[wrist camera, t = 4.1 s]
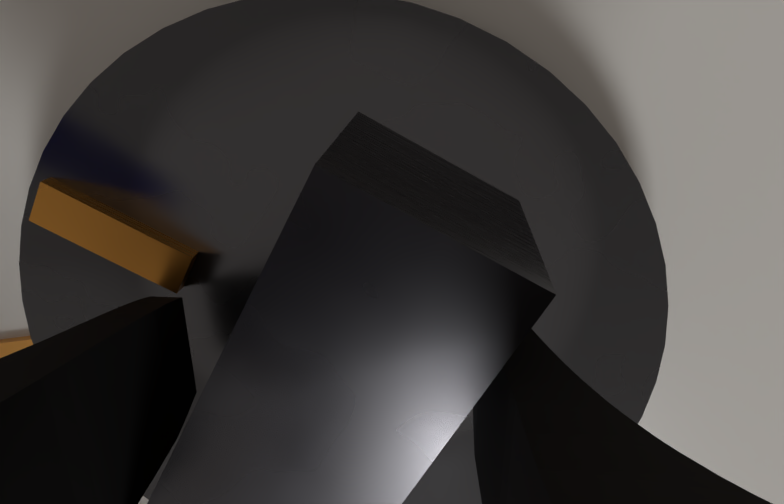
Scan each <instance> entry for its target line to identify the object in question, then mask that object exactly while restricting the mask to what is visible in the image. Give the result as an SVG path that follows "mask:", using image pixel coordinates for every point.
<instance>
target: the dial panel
mask: <svg viewBox="0 0 784 504" xmlns="http://www.w3.org/2000/svg"><path fill="white" fill-rule="evenodd" d="M235 1H239V0H0V358H2V357H4V356H7V355H9V354H12V353H14V352H16V351H19V350H21V349H24V348H26V347H29V346H31V345H33V342H32V339H31V337H30V333H29V328H28V324H27V319H26V315H25V311H24V306H23V302H22V292H21V281H20V270H19V255H20V237H21V224H22V219H23V215H24V210H25V205H26V200H27V196H28V191H29V187H30V184H31V182H32V179H33V176H34V174H35V171H36V169H37V166H38V163H39V161H40V158H41V155H42V153H43V150H44V149H45V147H46V145H47V143H48V142H49V140H50V138H51V137H52V135H53V133H54V131H55V130H56V128H57V126H58V124H59V123H60V121H61V119H62V117H63V116H64V114H65V113H66V112H67V111H68V110H69V108H70V107H71V106H72V105H73V103H74V102H75V101H76V100H77V98H78V97H79V96H80V95H81V94H82V92H83V91H84V90H85V89H86V87H87V86H88V85H89V84H90V83H91V82H92V81H93V80H94V79H95V78H96V77H97V76H98V75H100V74H101V73H102V72H103V71H104V70H105V69H106V68H107V67H109V66H110V65H111V64H112V63H113V62H114V61H115V60H116V59H118V58H119V57H120V56H121V55H122V54H123V53H125V52H126V51H128V50H129V49H131V48H132V47H134V46H136V45H137V44H139V43H140V42H142V41H143V40H145V39H147V38H148V37H150V36H151V35H153V34H154V33H156V32H158V31H159V30H161V29H162V28H164V27H167V26H169V25H171V24H174V23H176V22H178V21H180V20H183V19H185V18H187V17H190V16H192V15H194V14H197V13H199V12H201V11H203V10H206V9H209V8H213V7H217V6H220V5H224V4H228V3H232V2H235ZM401 1H407V2H412V3H415V4H418V5H421V6H425V7H428V8H431V9H434V10H437V11H440V12H443V13H446V14H449V15H452V16H455V17H458V18H460V19H462V20H464V21H466V22H468V23H470V24H472V25H474V26H476V27H478V28H480V29H482V30H484V31H486V32H488V33H490V34H492V35H494V36H496V37H498V38H500V39H502V40H504V41H506V42H508V43H509V44H511V45H512V46H514V47H515V48H516V49H518V50H519V51H521V52H522V53H524V54H525V55H527V56H528V57H530V58H531V59H532V60H534V61H535V62H537V63H538V64H540V65H541V66H543V67H544V68H545V69H547V70H548V71H550V72H551V73H552V74H553V75H554V76H555V77H556V78H557V79H558V80H559V81H561V82H562V83H563V84H564V85H565V86H566V87H567V88H568V89H569V90H570V91H571V92H572V93H574V94H575V95H576V96H577V97H578V98H579V99H580V100H581V101H582V102H583V103H584V104H585V105H586V106H587V107H588V108H589V109H590V111H591V112H592V113H593V114H594V116H595V117H596V118H597V119H598V121H599V122H600V123H601V124H602V126H603V127H604V128H605V129H606V130H607V132H608V133H609V134H610V135H611V137H612V138H613V139H614V140H615V142H616V143H617V145H618V146H619V148H620V150H621V151H622V153H623V155H624V157H625V158H626V160H627V162H628V163H629V165H630V167H631V169H632V170H633V172H634V174H635V175H636V177H637V179H638V181H639V182H640V185H641V187H642V190H643V192H644V195H645V197H646V200H647V202H648V205H649V207H650V210H651V212H652V215H653V217H654V220H655V222H656V225H657V230H658V234H659V239H660V243H661V247H662V252H663V256H664V260H665V265H666V278H667V292H668V318H667V329H666V341H665V348H664V352H663V356H662V360H661V364H660V369H659V373H658V377H657V381H656V384H655V386H654V389H653V391H652V394H651V396H650V399H649V401H648V404H647V406H646V408H645V411H644V413H643V416H642V418H641V419H640V421H639V423H638V425H640V426H641V427H643V428H644V429H645V430H647V431H648V432H650V433H651V434H652V435H654V436H655V437H657V438H658V439H660V440H661V441H663V442H664V443H666V444H668V445H669V446H671V447H672V448H674V449H675V450H677V451H678V452H680V453H682V454H684V455H685V456H687V457H689V458H690V459H692V460H694V461H695V462H697V463H699V464H700V465H702V466H704V467H705V468H707V469H709V470H710V471H712V472H714V473H716V474H717V475H719V476H721V477H723V478H724V479H726V480H728V481H730V482H732V483H734V484H736V485H737V486H739V487H741V488H743V489H745V490H747V491H749V492H751V493H752V494H754V495H756V496H758V497H760V498H762V499H764V500H766V501H768V502H770V503H773V504H784V0H401ZM148 501H149V500H148V499H147V498H146V497H144V496H142V498H141V500H140V501H139V503H138V504H147V503H148Z"/></svg>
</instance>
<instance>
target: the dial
mask: <svg viewBox="0 0 784 504" xmlns="http://www.w3.org/2000/svg"><path fill="white" fill-rule="evenodd" d="M19 270H20V281H21V292H22V302H23V306H24V311H25V315H26V319H27V324H28V328H29V333H30V337H31V339H32V342H33V344H36V343H38V342H41V341H43V340H45V339H48V338H50V337H52V336H54V335H57V334H59V333H61V332H63V331H66V330H68V329H70V328H72V327H75V326H77V325H79V324H81V323H84V322H86V321H88V320H90V319H93V318H95V317H97V316H99V315H102V314H104V313H106V312H109V311H111V310H113V309H116V308H118V307H120V306H123V305H125V304H128V303H131V302H133V301H136V300H139V299H142V298H146V297H149V296H156V297H182V299H183V306H184V312H185V319H186V325H187V332H188V338H189V345H190V351H191V358H192V364H193V371H194V377H195V384H196V390H197V393H196V395H195V398H194V400H193V403H192V405H191V408H190V410H189V413H188V415H187V418H186V420H185V422H184V424H183V427H182V429H181V431H180V433H179V436H178V438H177V440H176V442H175V443H174V445H173V447H172V448H171V450H170V452H169V454H168V455H167V457H166V459H165V460H164V462H163V464H162V465H161V467H160V469H159V470H158V472H157V474H156V475H155V477H154V479H153V480H152V482H151V483H150V485H149V487H148V488H147V490H146V492H145V493H144V495H143V496H144V497H146V498H147V499H148V500H149V501H148V503H147V504H482V501H481V494H480V488H479V481H478V475H477V469H476V462H475V455H474V432H473V407H474V406H475V404H476V403H477V401H478V400H479V399H480V397H481V396H482V395H483V393H484V392H485V391H486V389H487V388H488V387H489V385H490V384H491V383H492V381H493V380H494V378H495V377H496V376H497V374H498V373H499V372H500V370H501V369H502V368H503V366H504V365H505V364H506V362H507V361H508V360H509V358H510V357H511V356H512V354H513V353H514V351H515V350H516V349H517V347H518V346H519V345H520V343H521V342H522V341H523V339H524V338H525V337H526V335H527V334H528V333H529V331H530V330H531V328H532V330H533V331H534V332H535V333H536V334H537V335H538V336H539V337H540V338H541V339H542V341H543V342H544V343H545V344H546V345H547V346H548V347H549V348H550V349H551V350H552V351H553V352H554V353H555V354H556V355H557V356H558V357H559V358H560V359H561V360H562V361H563V362H564V363H565V364H566V365H567V366H568V367H569V368H570V369H571V370H572V371H573V372H574V373H575V374H576V375H578V376H579V377H580V378H581V379H582V380H583V381H584V382H585V383H587V384H588V385H589V386H590V387H591V388H592V389H594V390H595V391H596V392H597V393H598V394H599V395H600V396H602V397H603V398H604V399H605V400H606V401H608V402H609V403H610V404H611V405H613V406H614V407H615V408H617V409H618V410H619V411H620V412H622V413H623V414H624V415H626V416H627V417H629V418H630V419H631V420H633V421H634V422H636V423H637V424H638V423H639V421H640V419H641V418H642V416H643V413H644V411H645V408H646V406H647V404H648V401H649V399H650V396H651V394H652V391H653V389H654V386H655V384H656V381H657V377H658V373H659V369H660V364H661V360H662V356H663V352H664V348H665V341H666V329H667V318H668V292H667V278H666V265H665V260H664V256H663V252H662V247H661V243H660V239H659V234H658V230H657V225H656V222H655V220H654V217H653V215H652V212H651V210H650V207H649V205H648V202H647V200H646V197H645V195H644V192H643V190H642V187H641V185H640V182H639V181H638V179H637V177H636V175H635V174H634V172H633V170H632V169H631V167H630V165H629V163H628V162H627V160H626V158H625V157H624V155H623V153H622V151H621V150H620V148H619V146H618V145H617V143H616V142H615V140H614V139H613V138H612V137H611V135H610V134H609V133H608V132H607V130H606V129H605V128H604V127H603V126H602V124H601V123H600V122H599V121H598V119H597V118H596V117H595V116H594V114H593V113H592V112H591V111H590V109H589V108H588V107H587V106H586V105H585V104H584V103H583V102H582V101H581V100H580V99H579V98H578V97H577V96H576V95H575V94H574V93H572V92H571V91H570V90H569V89H568V88H567V87H566V86H565V85H564V84H563V83H562V82H561V81H559V80H558V79H557V78H556V77H555V76H554V75H553V74H552V73H551V72H550V71H548V70H547V69H545V68H544V67H543V66H541V65H540V64H538V63H537V62H535V61H534V60H532V59H531V58H530V57H528V56H527V55H525V54H524V53H522V52H521V51H519V50H518V49H516V48H515V47H514V46H512V45H511V44H509V43H508V42H506V41H504V40H502V39H500V38H498V37H496V36H494V35H492V34H490V33H488V32H486V31H484V30H482V29H480V28H478V27H476V26H474V25H472V24H470V23H468V22H466V21H464V20H462V19H460V18H458V17H455V16H452V15H449V14H446V13H443V12H440V11H437V10H434V9H431V8H428V7H425V6H421V5H418V4H415V3H412V2H407V1H401V0H239V1H235V2H232V3H228V4H224V5H220V6H217V7H213V8H209V9H206V10H203V11H201V12H199V13H197V14H194V15H192V16H190V17H187V18H185V19H183V20H180V21H178V22H176V23H174V24H171V25H169V26H167V27H164V28H162V29H161V30H159V31H158V32H156V33H154V34H153V35H151V36H150V37H148V38H147V39H145V40H143V41H142V42H140V43H139V44H137V45H136V46H134V47H132V48H131V49H129V50H128V51H126V52H125V53H123V54H122V55H121V56H120V57H119V58H118V59H116V60H115V61H114V62H113V63H112V64H111V65H110V66H109V67H107V68H106V69H105V70H104V71H103V72H102V73H101V74H100V75H98V76H97V77H96V78H95V79H94V80H93V81H92V82H91V83H90V84H89V85H88V86H87V87H86V89H85V90H84V91H83V92H82V94H81V95H80V96H79V97H78V98H77V100H76V101H75V102H74V103H73V105H72V106H71V107H70V108H69V110H68V111H67V112H66V113H65V114H64V116H63V117H62V119H61V121H60V123H59V124H58V126H57V128H56V130H55V131H54V133H53V135H52V137H51V138H50V140H49V142H48V143H47V145H46V147H45V149H44V150H43V153H42V155H41V158H40V161H39V163H38V166H37V169H36V171H35V174H34V176H33V179H32V182H31V184H30V187H29V191H28V196H27V200H26V205H25V210H24V215H23V219H22V224H21V237H20V255H19Z"/></svg>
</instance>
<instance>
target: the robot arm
mask: <svg viewBox="0 0 784 504" xmlns="http://www.w3.org/2000/svg"><path fill="white" fill-rule="evenodd" d="M196 393H197V390H196V384H195V377H194V371H193V364H192V358H191V351H190V345H189V338H188V332H187V325H186V319H185V312H184V306H183V299H182V297H156V296H149V297H146V298H142V299H139V300H136V301H133V302H131V303H128V304H125V305H123V306H120V307H118V308H116V309H113V310H111V311H109V312H106V313H104V314H102V315H99V316H97V317H95V318H93V319H90V320H88V321H86V322H84V323H81V324H79V325H77V326H75V327H72V328H70V329H68V330H66V331H63V332H61V333H59V334H57V335H54V336H52V337H50V338H48V339H45V340H43V341H41V342H38V343H36V344H33V345H31V346H29V347H26V348H24V349H21V350H19V351H16V352H14V353H12V354H9V355H7V356H4V357H2V358H0V504H138V503H139V501H140V500H141V498H142V496H143V495H144V493H145V492H146V490H147V488H148V487H149V485H150V483H151V482H152V480H153V479H154V477H155V475H156V474H157V472H158V470H159V469H160V467H161V465H162V464H163V462H164V460H165V459H166V457H167V455H168V454H169V452H170V450H171V448H172V447H173V445H174V443H175V442H176V440H177V438H178V436H179V433H180V431H181V429H182V427H183V424H184V422H185V420H186V418H187V415H188V413H189V410H190V408H191V405H192V403H193V400H194V398H195V395H196ZM473 432H474V455H475V462H476V469H477V475H478V481H479V488H480V494H481V501H482V504H773V503H770V502H768V501H766V500H764V499H762V498H760V497H758V496H756V495H754V494H752V493H751V492H749V491H747V490H745V489H743V488H741V487H739V486H737V485H736V484H734V483H732V482H730V481H728V480H726V479H724V478H723V477H721V476H719V475H717V474H716V473H714V472H712V471H710V470H709V469H707V468H705V467H704V466H702V465H700V464H699V463H697V462H695V461H694V460H692V459H690V458H689V457H687V456H685V455H684V454H682V453H680V452H678V451H677V450H675V449H674V448H672V447H671V446H669V445H668V444H666V443H664V442H663V441H661V440H660V439H658V438H657V437H655V436H654V435H652V434H651V433H650V432H648V431H647V430H645V429H644V428H643V427H641V426H640V425H638V424H637V423H636V422H634V421H633V420H631V419H630V418H629V417H627V416H626V415H624V414H623V413H622V412H620V411H619V410H618V409H617V408H615V407H614V406H613V405H611V404H610V403H609V402H608V401H606V400H605V399H604V398H603V397H602V396H600V395H599V394H598V393H597V392H596V391H595V390H594V389H592V388H591V387H590V386H589V385H588V384H587V383H585V382H584V381H583V380H582V379H581V378H580V377H579V376H578V375H576V374H575V373H574V372H573V371H572V370H571V369H570V368H569V367H568V366H567V365H566V364H565V363H564V362H563V361H562V360H561V359H560V358H559V357H558V356H557V355H556V354H555V353H554V352H553V351H552V350H551V349H550V348H549V347H548V346H547V345H546V344H545V343H544V342H543V341H542V339H541V338H540V337H539V336H538V335H537V334H536V333H535V332H534V331H533V330H532V328H531V330H530V331H529V333H528V334H527V335H526V337H525V338H524V339H523V341H522V342H521V343H520V345H519V346H518V347H517V349H516V350H515V351H514V353H513V354H512V356H511V357H510V358H509V360H508V361H507V362H506V364H505V365H504V366H503V368H502V369H501V370H500V372H499V373H498V374H497V376H496V377H495V378H494V380H493V381H492V383H491V384H490V385H489V387H488V388H487V389H486V391H485V392H484V393H483V395H482V396H481V397H480V399H479V400H478V401H477V403H476V404H475V406H474V407H473Z"/></svg>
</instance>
